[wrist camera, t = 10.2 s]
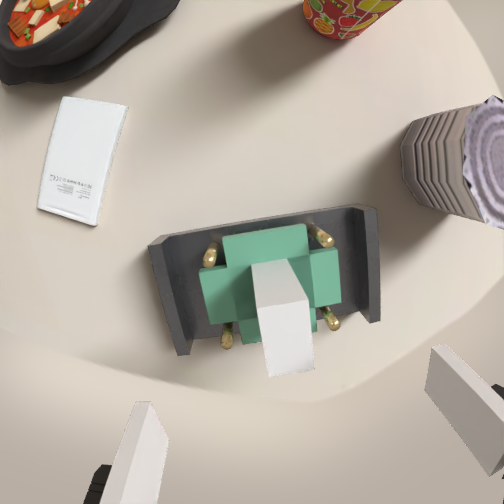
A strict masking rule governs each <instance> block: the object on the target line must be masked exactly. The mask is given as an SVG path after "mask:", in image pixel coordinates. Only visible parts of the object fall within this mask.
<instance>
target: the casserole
mask: <svg viewBox="0 0 504 504" xmlns="http://www.w3.org/2000/svg"><path fill="white" fill-rule="evenodd" d="M179 1H180V0H2V3H1V5H0V79H1V81H2V83H4V84H6V85H15V84H20V83H25V82H36V83H46V84H53V83H59V82H64V81H67V80H70V79H73V78H76V77H78V76H80V75H82V74H84V73H86V72H88V71H90V70H92V69H94V68H95V67H96V66H98V65H99V64H101V63H102V62H104V61H105V60H107V59H108V58H109V57H110V56H111V55H113V54H114V53H115V52H116V51H117V50H118V49H119V48H121V47H122V46H123V45H124V44H125V43H127V42H128V41H129V40H130V39H131V38H133V37H134V36H135V35H137V34H138V33H140V32H142V31H143V30H145V29H147V28H149V27H150V26H152V25H154V24H156V23H158V22H159V21H161V20H163V19H165V18H166V17H167V16H168V15H169V14H170V13H171V12H172V11H173V10H174V9H175V8H176V7H177V5H178V3H179Z"/></svg>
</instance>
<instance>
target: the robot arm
mask: <svg viewBox="0 0 504 504" xmlns="http://www.w3.org/2000/svg"><path fill="white" fill-rule="evenodd" d="M425 392H426V393H427V394H428V396H429V397H430V398H431V399H432V401H433V402H434V403H435V405H436V406H437V407H438V408H439V410H440V411H441V412H442V414H443V415H444V416H445V418H446V419H447V420H448V421H449V423H450V424H451V425H452V427H453V428H454V429H455V431H456V432H457V433H458V435H459V436H460V437H461V439H462V440H463V441H464V443H465V444H466V446H467V447H468V448H469V450H470V451H471V452H472V454H473V455H474V456H475V458H476V459H477V460H478V462H479V463H480V465H481V466H482V468H483V469H484V470H485V472H486V473H487V475H488V476H489V477H490V476H491V475H493V474H494V473H496V472H497V471H499V470H500V469H502V468H503V466H504V388H503V387H501V386H499V385H497V384H495V385H493V386H491V387H490V386H489V385H488V384H487V383H486V382H485V381H484V380H483V379H482V378H481V377H479V375H478V374H477V373H476V372H475V371H473V370H472V369H471V368H470V367H469V366H468V365H467V364H466V363H465V362H464V361H463V360H462V359H460V357H459V356H458V355H456V354H455V353H454V352H453V351H452V350H451V349H450V348H449V347H448V346H447V345H446V344H444V343H443V344H440V345H437V346H434V347H432V349H431V355H430V362H429V368H428V374H427V380H426V385H425ZM168 444H169V439H168V437H167V435H166V433H165V431H164V429H163V427H162V425H161V423H160V420H159V418H158V416H157V414H156V412H155V410H154V408H153V405H152V403H151V401H149V402H135V405H134V408H133V410H132V413H131V415H130V418H129V421H128V423H127V426H126V429H125V431H124V434H123V437H122V440H121V442H120V445H119V448H118V451H117V454H116V457H115V459H114V462H113V465H101V467H99V468H98V470H97V471H96V472H95V473H94V476H93V479H92V481H91V484H90V486H89V489H88V490H89V491H88V492H87V495H86V497H85V500H84V503H83V504H157V501H158V496H159V490H160V485H161V480H162V474H163V469H164V464H165V459H166V454H167V449H168ZM502 479H504V475H503V477H502ZM503 504H504V500H503Z"/></svg>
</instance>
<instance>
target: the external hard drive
mask: <svg viewBox="0 0 504 504" xmlns="http://www.w3.org/2000/svg"><path fill="white" fill-rule="evenodd" d="M128 109H129V108H128V107H127V106H124V105H119V104H113V103H107V102H101V101H95V100H88V99H81V98H74V97H65V96H63V97H62V100H61V103H60V106H59V110H58V113H57V116H56V120H55V124H54V127H53V131H52V135H51V139H50V143H49V147H48V151H47V155H46V160H45V165H44V170H43V175H42V180H41V186H40V192H39V198H38V205H37V207H38V208H40V209H43V210H46V211H49V212H52V213H55V214H58V215H61V216H64V217H67V218H71V219H74V220H77V221H80V222H83V223H86V224H89V225H93V226H96V225H98V224H99V218H100V213H101V209H102V204H103V199H104V195H105V190H106V186H107V182H108V178H109V174H110V170H111V166H112V162H113V158H114V154H115V151H116V147H117V144H118V141H119V137H120V134H121V130H122V127H123V124H124V121H125V118H126V114H127V111H128Z"/></svg>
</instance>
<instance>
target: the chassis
mask: <svg viewBox="0 0 504 504" xmlns="http://www.w3.org/2000/svg"><path fill="white" fill-rule="evenodd" d="M302 223H303V224H305V225H306V229H307V237H308V245H309V251H310V250H316V249H322V248H331V247H335V248H336V249H337V250H338V262H339V274H340V288H341V303H337V304H332V305H326V306H321V307H316V308H315V312H316V320H319V319H325V321H326V322H327V324H328V326H329V328H330V329H331V330H332V331H336V330H338V329H339V328H340V322H339V321H338V319H337V318H336V316H339V315H344V314H348V313H353V312H357V311H360V313H361V314H362V315H363V316H364V317H365V319H366V320H367V321H368V322H369V323H374V322H378V321H380V260H379V241H378V226H377V213H376V209H375V208H372V207H368V206H365V205H361V204H352V205H345V206H338V207H331V208H324V209H317V210H311V211H304V212H297V213H291V214H284V215H278V216H272V217H265V218H259V219H253V220H247V221H241V222H235V223H229V224H223V225H217V226H212V227H206V228H200V229H195V230H189V231H183V232H178V233H172V234H167V235H162V236H159V237H158V238H157V239H156V240H154V241H153V242H152V243H151V244H150V245H148V249H149V253H150V257H151V262H152V266H153V270H154V274H155V278H156V282H157V286H158V289H159V293H160V297H161V301H162V304H163V308H164V312H165V315H166V319H167V322H168V326H169V329H170V332H171V336H172V339H173V342H174V345H175V349H176V352H177V355H178V356H182V355H190V351H191V347H192V343H193V340H194V339H202V338H209V337H217V336H222V338H221V347H222V348H223V349H226V350H228V349H231V348H232V345H233V334H238V333H240V329H239V324H238V321H234V322H227V323H221V324H213V325H210V321H209V316H208V312H207V308H206V304H205V299H204V295H203V290H202V286H201V281H200V277H199V271H200V269H201V268H212V267H214V266H220V265H226V264H227V263H226V257H225V252H224V247H223V241H222V238H223V236H229V235H234V234H240V233H246V232H253V231H259V230H265V229H271V228H277V227H283V226H290V225H296V224H302Z"/></svg>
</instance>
